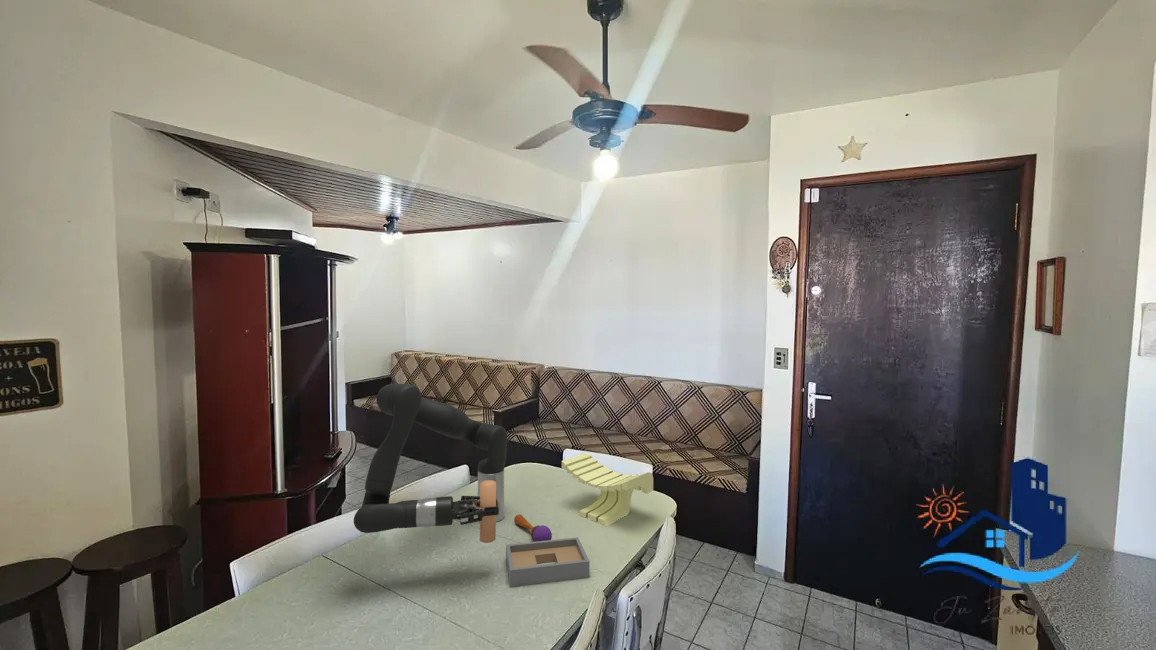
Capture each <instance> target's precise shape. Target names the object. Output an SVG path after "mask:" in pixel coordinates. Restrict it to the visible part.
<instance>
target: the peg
mask: <svg viewBox="0 0 1156 650" xmlns="http://www.w3.org/2000/svg"><path fill="white" fill-rule="evenodd" d="M494 506H496V482H495V481H493V480H486V481H482V482H481V483H480V507H484V508H485V507H494ZM496 526H497V522H496V515H492V516H485V517H484V518H482V521H479V541H480V542H481V543H482V544H483V543H484V544H488V543H492V542H494V541H496V538H497V537H496V536H497V534H496V533H497V527H496Z"/></svg>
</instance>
